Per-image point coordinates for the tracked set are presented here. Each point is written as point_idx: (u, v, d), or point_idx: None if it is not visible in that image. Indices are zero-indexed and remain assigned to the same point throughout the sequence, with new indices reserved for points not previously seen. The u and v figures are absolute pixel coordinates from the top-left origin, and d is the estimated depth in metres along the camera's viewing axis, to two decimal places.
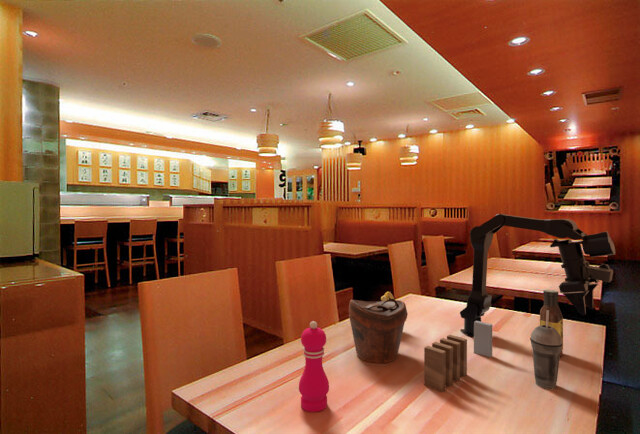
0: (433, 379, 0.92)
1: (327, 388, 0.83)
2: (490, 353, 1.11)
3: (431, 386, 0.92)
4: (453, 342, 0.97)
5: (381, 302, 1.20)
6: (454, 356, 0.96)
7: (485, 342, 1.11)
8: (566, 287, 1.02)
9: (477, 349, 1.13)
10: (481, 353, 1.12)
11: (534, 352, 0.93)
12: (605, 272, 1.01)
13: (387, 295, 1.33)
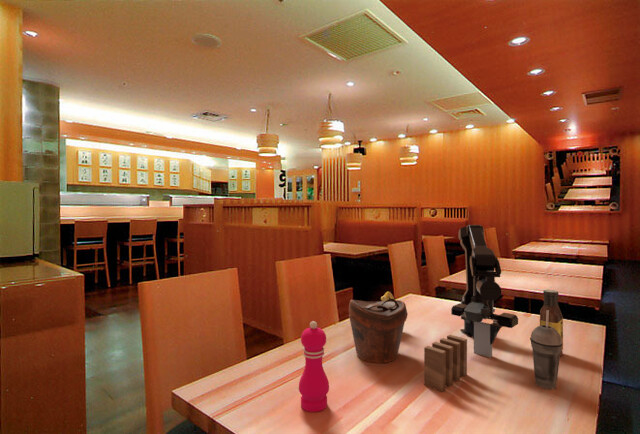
0: (433, 379, 0.92)
1: (327, 388, 0.83)
2: (490, 353, 1.11)
3: (431, 386, 0.92)
4: (453, 342, 0.97)
5: (381, 302, 1.20)
6: (454, 356, 0.96)
7: (485, 342, 1.11)
8: None
9: (477, 349, 1.13)
10: (481, 353, 1.12)
11: (534, 352, 0.93)
12: None
13: (387, 295, 1.33)
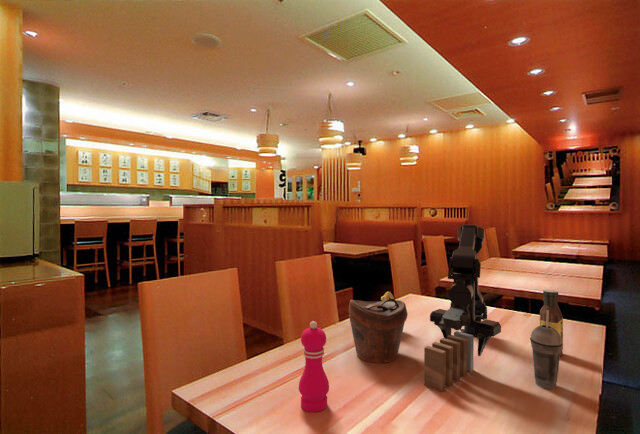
0: (433, 379, 0.92)
1: (327, 388, 0.83)
2: (471, 367, 1.01)
3: (431, 386, 0.92)
4: (453, 342, 0.97)
5: (381, 302, 1.20)
6: (454, 356, 0.96)
7: None
8: None
9: None
10: None
11: (534, 352, 0.93)
12: None
13: (387, 295, 1.33)
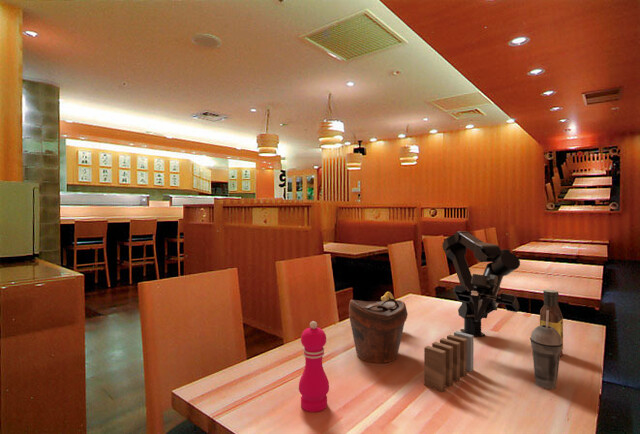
0: (433, 379, 0.92)
1: (327, 388, 0.83)
2: (471, 367, 1.01)
3: (431, 386, 0.92)
4: (453, 342, 0.97)
5: (381, 302, 1.20)
6: (454, 356, 0.96)
7: None
8: None
9: None
10: None
11: (534, 352, 0.93)
12: None
13: (387, 295, 1.33)
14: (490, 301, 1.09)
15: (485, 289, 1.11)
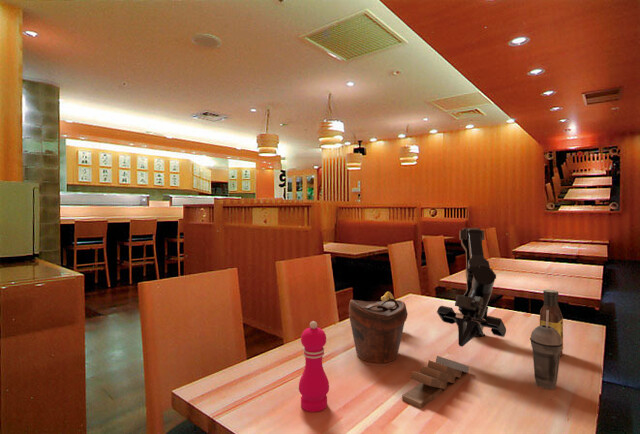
0: None
1: (327, 388, 0.83)
2: (466, 370, 1.00)
3: None
4: (433, 374, 0.89)
5: (381, 302, 1.20)
6: None
7: None
8: None
9: None
10: None
11: (534, 352, 0.93)
12: None
13: (387, 295, 1.33)
14: (475, 325, 1.02)
15: (470, 311, 1.05)
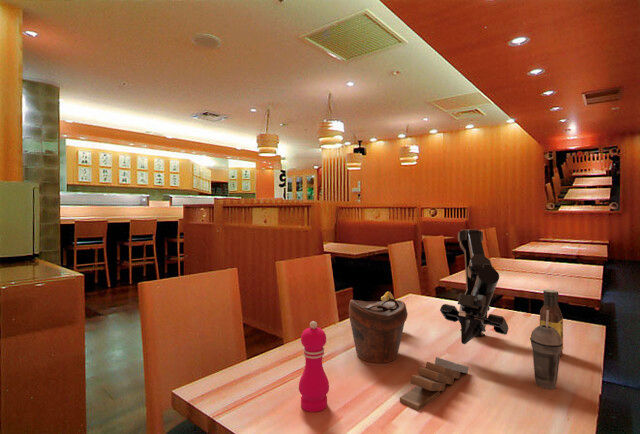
0: None
1: (327, 388, 0.83)
2: (466, 371, 1.00)
3: None
4: (431, 376, 0.89)
5: (381, 302, 1.20)
6: None
7: None
8: None
9: None
10: None
11: (534, 352, 0.93)
12: None
13: (387, 295, 1.33)
14: (478, 323, 1.03)
15: (473, 309, 1.06)
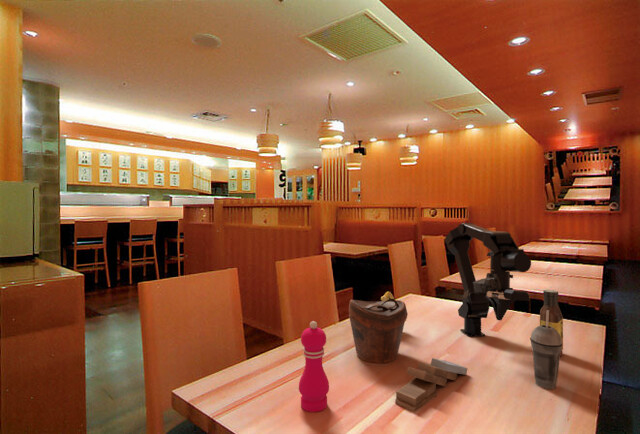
0: None
1: (327, 388, 0.83)
2: (464, 372, 0.99)
3: None
4: (419, 375, 0.88)
5: (381, 302, 1.20)
6: (428, 381, 0.89)
7: None
8: None
9: None
10: None
11: (534, 352, 0.93)
12: None
13: (387, 295, 1.33)
14: None
15: (493, 288, 1.13)
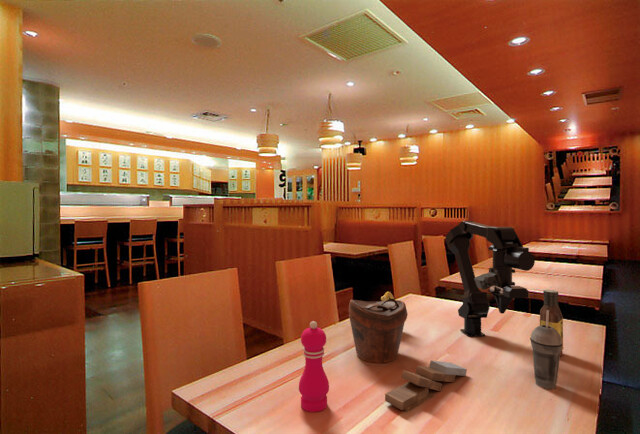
0: None
1: (327, 388, 0.83)
2: (463, 373, 0.98)
3: None
4: (413, 379, 0.86)
5: (381, 302, 1.20)
6: None
7: None
8: None
9: None
10: None
11: (534, 352, 0.93)
12: None
13: (387, 295, 1.33)
14: (501, 295, 1.13)
15: None
